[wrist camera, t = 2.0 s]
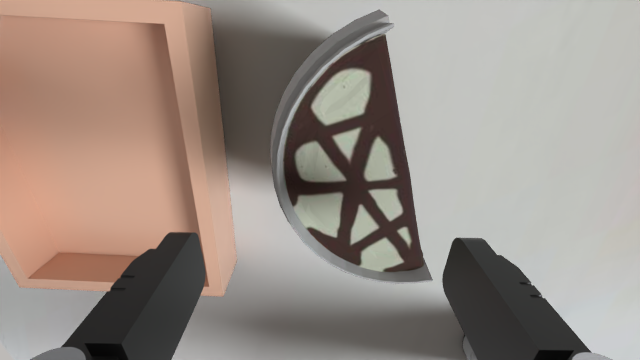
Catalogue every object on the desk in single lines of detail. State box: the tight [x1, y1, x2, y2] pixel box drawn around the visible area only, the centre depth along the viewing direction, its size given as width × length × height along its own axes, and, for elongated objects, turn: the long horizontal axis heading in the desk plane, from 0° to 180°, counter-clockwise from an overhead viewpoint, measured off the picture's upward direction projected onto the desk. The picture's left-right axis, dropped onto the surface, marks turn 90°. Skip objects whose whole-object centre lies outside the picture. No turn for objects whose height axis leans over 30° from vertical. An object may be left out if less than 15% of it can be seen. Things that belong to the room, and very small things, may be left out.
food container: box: [270, 10, 433, 284], centre depth 16 cm, size 12×6×10 cm, turn 16°
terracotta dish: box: [0, 0, 237, 297], centre depth 20 cm, size 16×20×4 cm
